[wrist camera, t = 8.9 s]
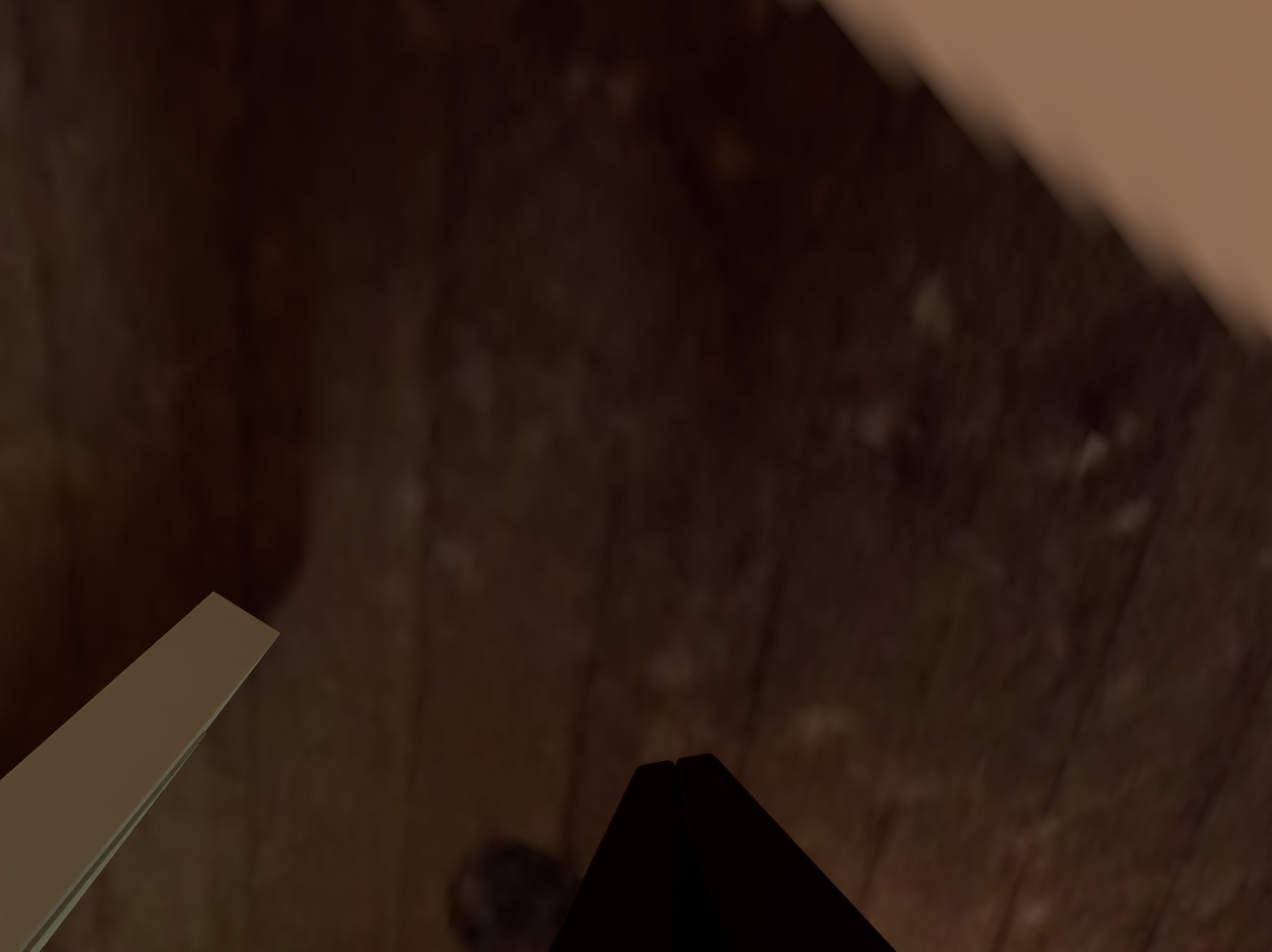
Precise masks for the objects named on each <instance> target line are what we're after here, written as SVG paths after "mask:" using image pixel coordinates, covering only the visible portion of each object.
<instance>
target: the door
mask: <svg viewBox="0 0 1272 952" xmlns="http://www.w3.org/2000/svg"><path fill="white" fill-rule="evenodd" d="M279 634H280V633H279V632H278V631H276V630H274V629H273V628H271V627H270V626H268V625H266V624H265V623H263V622H262V621H260V620H258V619H257V618H255V617H254V616H252V615H250V614H249V613H247V612H246V611H244V610H242V609H241V608H239V607H238V606H236V605H234V604H233V603H231V602H230V601H228V600H227V599H225V598H223V597H222V596H220V595H219V594H217V593H215V592H214V591H213V592H212V593H211V594H210V595H209V596H208V597H207V598H205V599H204V600H203V601H202V602H201V603H200V604H199V605H198V606H196V607H195V608H194V609H193V610H192V611H191V612H190V613H189V614H187V615H186V616H185V617H184V618H183V619H182V620H181V621H179V622H178V623H177V624H176V625H175V626H174V627H173V628H172V629H170V630H169V631H168V632H167V633H166V634H165V635H164V636H163V637H161V638H160V639H159V640H158V641H157V642H156V643H155V644H154V645H152V646H151V647H150V648H149V649H148V650H147V651H146V652H145V653H143V654H142V655H141V656H140V657H139V658H138V659H137V660H135V661H134V662H133V663H132V664H131V665H130V666H129V667H128V668H126V669H125V670H124V671H123V672H122V673H121V674H120V675H119V676H117V677H116V678H115V679H114V680H113V681H112V682H111V683H110V684H108V685H107V686H106V687H105V688H104V689H103V690H102V691H100V692H99V693H98V694H97V695H96V696H95V697H94V698H93V699H91V700H90V701H89V702H88V703H87V704H86V705H85V706H84V707H82V708H81V709H80V710H79V711H78V712H77V713H76V714H75V715H73V716H72V717H71V718H70V719H69V720H68V721H67V722H65V723H64V724H63V725H62V726H61V727H60V728H59V729H58V730H56V731H55V732H54V733H53V734H52V735H51V736H50V737H49V738H47V739H46V740H45V741H44V742H43V743H42V744H41V745H40V746H38V747H37V748H36V749H35V750H34V751H33V752H32V753H31V754H29V755H28V756H27V757H26V758H25V759H24V760H23V761H21V762H20V763H19V764H18V765H17V766H16V767H15V768H14V769H12V770H11V771H10V772H9V773H8V774H7V775H6V776H5V777H3V778H2V779H1V780H0V952H40V950H41V949H42V948H43V946H44V945H45V944H46V942H47V941H48V940H49V939H50V937H51V936H52V935H53V933H54V932H55V931H56V929H57V928H58V927H59V925H60V924H61V923H62V922H63V920H64V919H65V918H66V916H67V915H68V914H69V912H70V911H71V910H72V909H73V907H74V906H75V905H76V903H77V902H78V901H79V899H80V898H81V897H82V895H83V894H84V893H85V892H86V890H87V889H88V888H89V886H90V885H91V884H92V882H93V881H94V880H95V879H96V877H97V876H98V875H99V873H100V872H101V871H102V869H103V868H104V867H105V866H106V864H107V863H108V862H109V860H110V859H111V858H112V856H113V855H114V854H115V852H116V851H117V850H118V849H119V847H120V846H121V845H122V843H123V842H124V841H125V839H126V838H127V837H128V836H129V834H130V833H131V832H132V830H133V829H134V828H135V826H136V825H137V824H138V822H139V821H140V820H141V819H142V817H143V816H144V815H145V813H146V812H147V811H148V809H149V808H150V807H151V806H152V804H153V803H154V802H155V800H156V799H157V798H158V796H159V795H160V794H161V792H162V791H163V790H164V789H165V787H166V786H167V785H168V783H169V782H170V781H171V779H172V778H173V777H174V776H175V774H176V773H177V772H178V770H179V769H180V768H181V766H182V765H183V764H184V763H185V761H186V760H187V759H188V757H189V756H190V755H191V753H192V752H193V751H194V749H195V748H196V747H197V746H198V744H199V743H200V742H201V740H202V739H203V738H204V736H205V735H206V734H207V733H206V732H205V731H206V730H207V729H208V727H209V726H210V725H211V723H212V722H213V721H214V719H215V718H216V717H217V715H218V714H219V713H220V712H221V710H222V709H223V708H224V706H225V705H226V704H227V702H228V701H229V700H230V698H231V697H232V696H233V695H234V693H235V692H236V691H237V689H238V688H239V687H240V685H241V684H242V683H243V681H244V680H245V679H246V678H247V676H248V675H249V674H250V672H251V671H252V670H253V668H254V667H255V666H256V665H257V663H258V662H259V661H260V659H261V658H262V657H263V655H264V654H265V653H266V651H267V650H268V649H269V648H270V646H271V645H272V644H273V642H274V641H275V640H276V638H277V637H278V636H279Z"/></svg>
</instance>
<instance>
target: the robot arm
mask: <svg viewBox="0 0 1272 952" xmlns="http://www.w3.org/2000/svg"><path fill="white" fill-rule="evenodd" d="M548 952H896V951H895V949H894V948H893V947H892V946H891V945H890V944H889V943H888V942H887V941H886V940H885V939H884V938H883V937H882V935H881V934H880V933H879V932H878V931H877V930H876V929H875V928H874V927H873V926H872V925H871V924H870V923H869V921H868V920H867V919H866V918H865V917H864V916H863V915H862V914H861V913H860V912H859V911H858V910H857V909H856V907H855V906H854V905H853V904H852V903H851V902H850V901H849V900H848V899H847V898H846V897H845V896H844V894H843V893H842V892H841V891H840V890H839V889H838V888H837V887H836V886H835V885H834V884H833V883H832V882H831V880H830V879H829V878H828V877H827V876H826V875H825V874H824V873H823V872H822V871H821V870H820V869H819V868H818V866H817V865H816V864H815V863H814V862H813V861H812V860H811V859H810V858H809V857H808V856H807V855H806V854H805V852H804V851H803V850H802V849H801V848H800V847H799V846H798V845H797V844H796V843H795V842H794V841H793V840H792V838H791V837H790V836H789V835H788V834H787V833H786V832H785V831H784V830H783V829H782V828H781V827H780V826H779V824H778V823H777V822H776V821H775V820H774V819H773V818H772V817H771V816H770V815H769V814H768V813H767V812H766V810H765V809H764V808H763V807H762V806H761V805H760V804H759V803H758V802H757V801H756V800H755V799H754V798H753V796H752V795H751V794H750V793H749V792H748V791H747V790H746V789H745V788H744V787H743V786H742V785H741V783H740V782H739V781H738V780H737V779H736V778H735V777H734V776H733V775H732V774H731V773H730V772H729V771H728V769H727V768H726V767H725V766H724V765H723V764H722V763H721V762H720V761H719V760H718V759H717V758H716V757H715V756H714V755H713V754H711V753H704V754H698V755H693V756H688V757H682V758H679V759H678V760H677V762H676V767H675V764H674V763H673V762H672V761H670V760H666V761H661V762H656V763H650V764H645V765H641V766H639V767H638V768H637V769H636V770H635V772H634V774H633V776H632V778H631V780H630V782H629V784H628V786H627V788H626V790H625V792H624V795H623V797H622V799H621V801H620V803H619V805H618V807H617V809H616V811H615V813H614V815H613V817H612V819H611V822H610V824H609V826H608V828H607V830H606V832H605V834H604V836H603V838H602V840H601V842H600V844H599V846H598V848H597V851H596V853H595V855H594V857H593V859H592V861H591V863H590V865H589V867H588V869H587V871H586V873H585V875H584V878H583V880H582V882H581V884H580V886H579V888H578V890H577V892H576V894H575V896H574V898H573V900H572V902H571V905H570V907H569V909H568V911H567V913H566V915H565V917H564V919H563V921H562V923H561V925H560V927H559V929H558V931H557V934H556V936H555V938H554V940H553V942H552V944H551V946H550V948H549V950H548Z"/></svg>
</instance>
